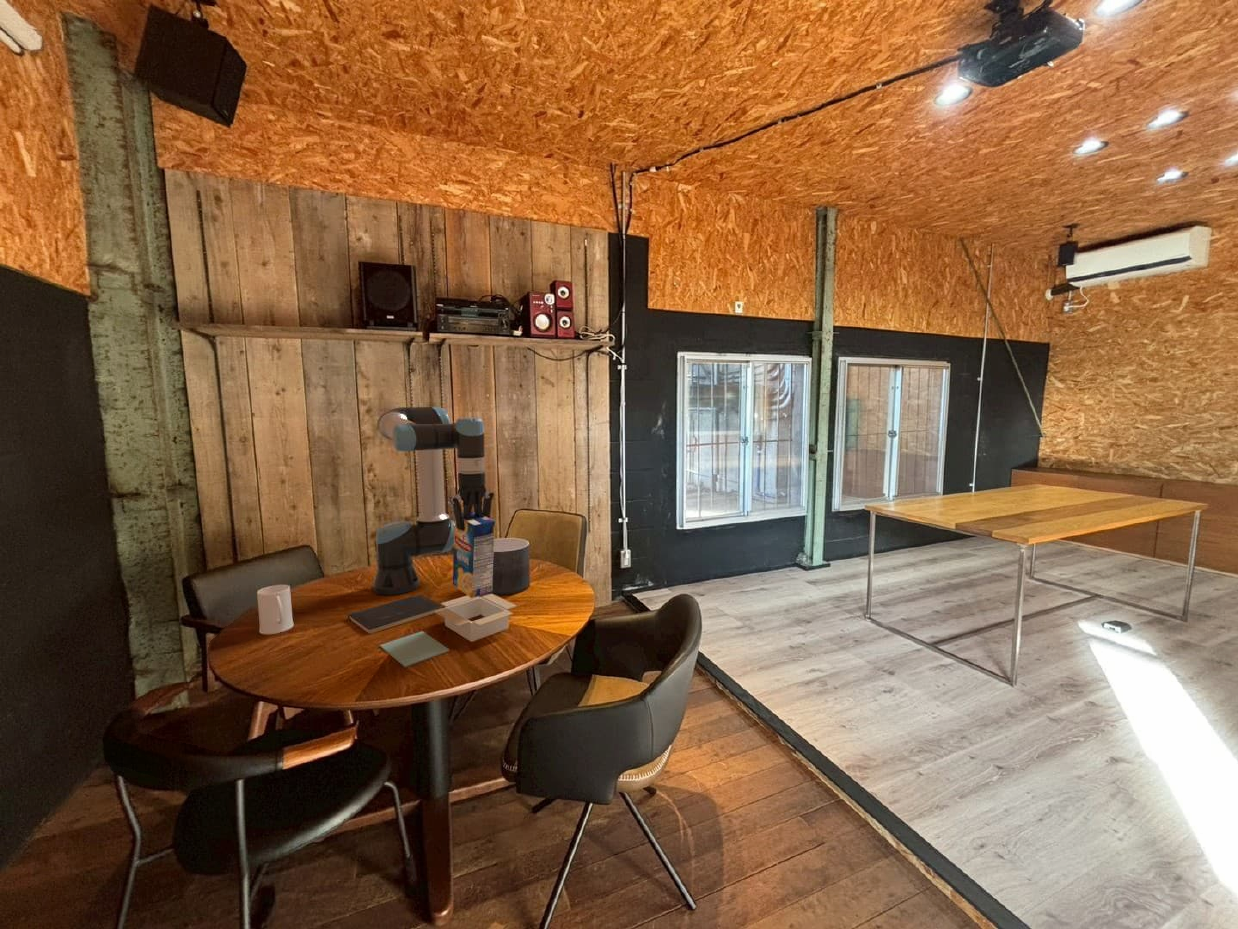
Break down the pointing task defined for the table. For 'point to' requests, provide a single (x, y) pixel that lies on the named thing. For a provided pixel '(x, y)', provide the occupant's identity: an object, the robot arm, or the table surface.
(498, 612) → the carton
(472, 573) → the beverage box
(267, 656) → the table surface
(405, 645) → the mat
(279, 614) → the mug
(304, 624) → the table surface
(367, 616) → the hardcover book
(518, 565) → the planter
